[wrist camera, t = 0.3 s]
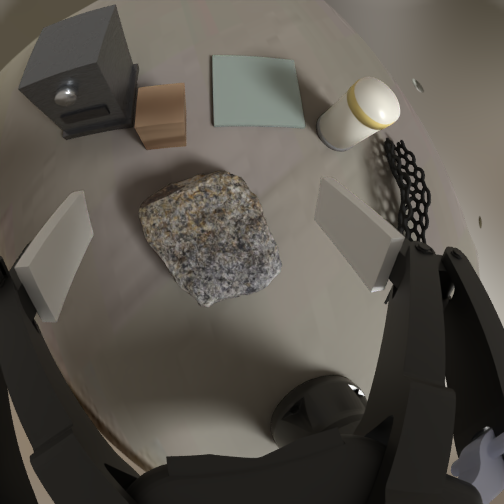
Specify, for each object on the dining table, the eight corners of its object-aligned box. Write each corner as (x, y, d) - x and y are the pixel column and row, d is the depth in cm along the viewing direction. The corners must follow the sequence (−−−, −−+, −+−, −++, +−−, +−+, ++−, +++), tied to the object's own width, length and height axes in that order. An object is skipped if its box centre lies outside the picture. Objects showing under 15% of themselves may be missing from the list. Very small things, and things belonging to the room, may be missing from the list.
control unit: (132, 130, 29) (99, 69, 15) (65, 143, 27) (12, 99, 14) (139, 68, 29) (121, 1, 15) (77, 81, 27) (41, 26, 13)
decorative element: (375, 140, 36) (398, 128, 30) (398, 144, 37) (421, 134, 31) (387, 286, 37) (412, 292, 31) (410, 282, 38) (435, 287, 32)
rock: (282, 273, 34) (232, 163, 33) (302, 277, 27) (240, 143, 26) (190, 318, 31) (138, 205, 30) (189, 334, 25) (125, 193, 24)
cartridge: (357, 153, 35) (405, 127, 24) (319, 150, 34) (363, 118, 23) (350, 115, 35) (393, 82, 24) (313, 110, 34) (350, 70, 23)
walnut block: (186, 146, 31) (183, 122, 24) (146, 150, 30) (134, 127, 23) (186, 111, 31) (184, 82, 24) (148, 115, 30) (138, 87, 23)
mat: (304, 128, 33) (305, 126, 33) (213, 126, 31) (214, 125, 31) (292, 62, 33) (293, 60, 32) (212, 57, 31) (212, 55, 30)
